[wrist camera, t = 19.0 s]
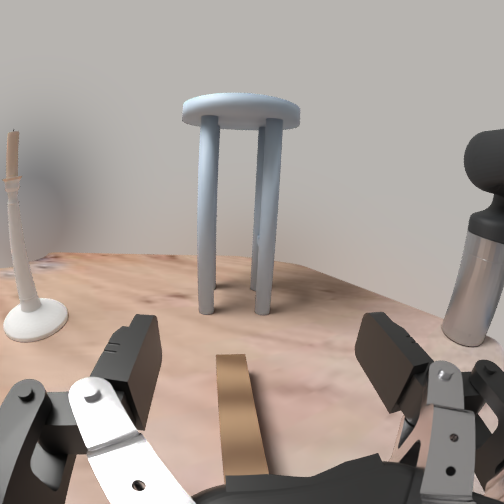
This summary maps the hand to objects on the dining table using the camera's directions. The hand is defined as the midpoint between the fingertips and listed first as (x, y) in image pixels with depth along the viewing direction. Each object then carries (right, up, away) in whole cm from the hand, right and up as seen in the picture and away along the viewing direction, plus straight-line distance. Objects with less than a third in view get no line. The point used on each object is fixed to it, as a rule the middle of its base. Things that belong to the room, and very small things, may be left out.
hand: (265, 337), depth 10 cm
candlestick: (-36, -8, +23) cm, 44 cm away
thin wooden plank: (-1, -15, +8) cm, 17 cm away
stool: (-4, -5, +38) cm, 39 cm away
